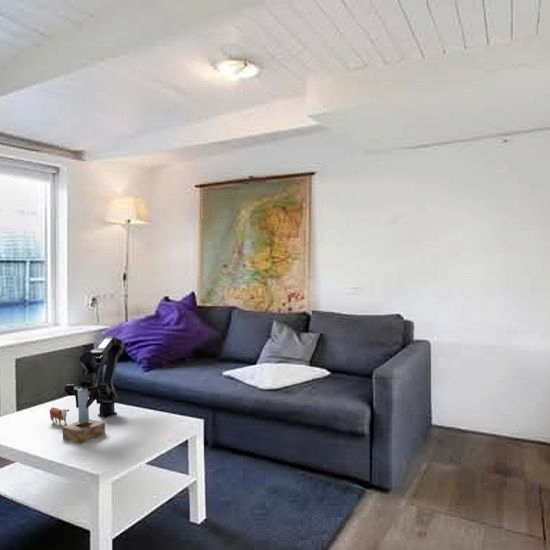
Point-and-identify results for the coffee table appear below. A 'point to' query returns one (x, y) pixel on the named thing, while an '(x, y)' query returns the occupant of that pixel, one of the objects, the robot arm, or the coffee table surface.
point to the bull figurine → (58, 415)
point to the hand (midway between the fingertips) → (82, 407)
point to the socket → (83, 431)
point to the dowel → (83, 405)
